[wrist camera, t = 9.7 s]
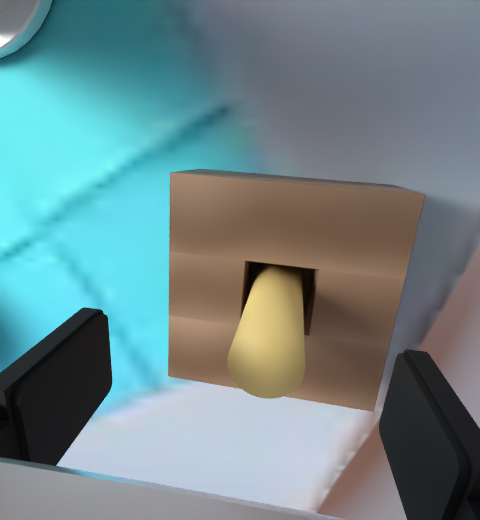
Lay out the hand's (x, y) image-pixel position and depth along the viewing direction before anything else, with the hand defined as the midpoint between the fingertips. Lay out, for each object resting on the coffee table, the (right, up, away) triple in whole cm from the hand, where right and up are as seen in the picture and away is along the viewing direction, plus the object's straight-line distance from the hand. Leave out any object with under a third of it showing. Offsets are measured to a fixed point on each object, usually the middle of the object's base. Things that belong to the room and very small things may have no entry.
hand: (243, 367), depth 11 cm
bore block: (+3, +3, +12) cm, 13 cm away
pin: (+2, +3, +11) cm, 11 cm away
